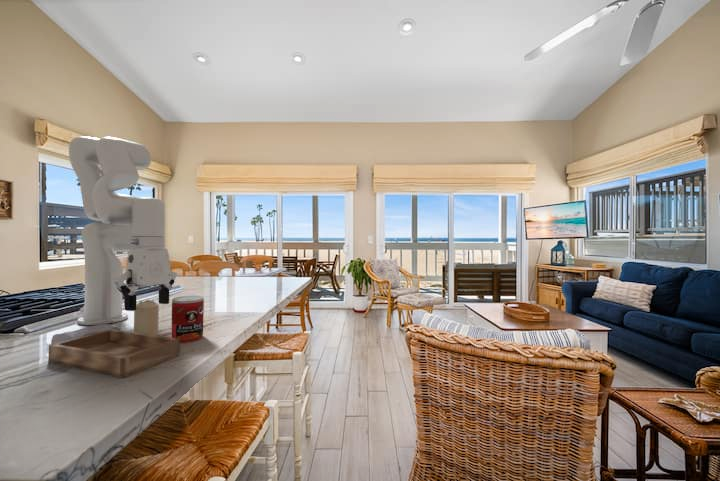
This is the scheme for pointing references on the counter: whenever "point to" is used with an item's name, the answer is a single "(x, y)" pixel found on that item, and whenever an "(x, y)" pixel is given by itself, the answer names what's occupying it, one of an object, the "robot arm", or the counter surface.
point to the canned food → (187, 318)
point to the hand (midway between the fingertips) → (148, 306)
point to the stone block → (82, 332)
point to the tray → (114, 352)
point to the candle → (146, 318)
